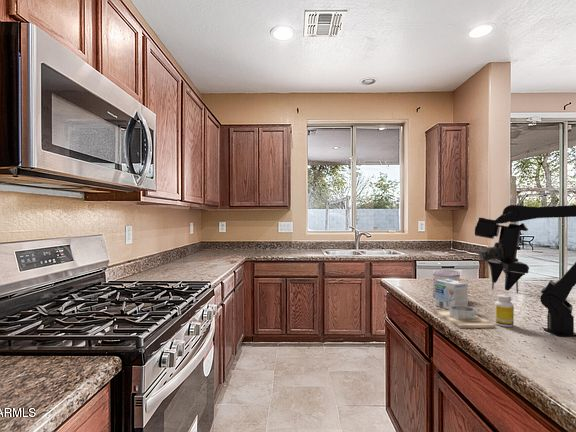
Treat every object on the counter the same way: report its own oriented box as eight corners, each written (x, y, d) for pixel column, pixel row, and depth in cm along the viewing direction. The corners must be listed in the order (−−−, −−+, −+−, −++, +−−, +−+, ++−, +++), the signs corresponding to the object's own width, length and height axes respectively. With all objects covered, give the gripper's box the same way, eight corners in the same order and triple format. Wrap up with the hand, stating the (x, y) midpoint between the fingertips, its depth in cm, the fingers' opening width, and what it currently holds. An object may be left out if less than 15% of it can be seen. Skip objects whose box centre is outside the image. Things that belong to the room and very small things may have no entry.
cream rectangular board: (495, 327, 114) (495, 324, 114) (459, 328, 114) (459, 325, 114) (465, 312, 132) (465, 309, 132) (434, 312, 132) (434, 310, 132)
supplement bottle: (516, 327, 114) (516, 298, 114) (498, 326, 115) (498, 297, 115) (509, 322, 119) (509, 294, 119) (492, 321, 120) (492, 293, 120)
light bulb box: (434, 305, 143) (434, 279, 143) (447, 304, 145) (447, 278, 145) (455, 312, 133) (454, 284, 133) (468, 310, 135) (468, 282, 135)
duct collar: (480, 320, 119) (480, 311, 119) (457, 320, 118) (457, 311, 118) (467, 313, 127) (467, 305, 127) (445, 313, 127) (445, 305, 127)
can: (466, 300, 152) (466, 272, 152) (447, 302, 148) (446, 274, 148) (446, 294, 162) (445, 269, 162) (427, 296, 158) (427, 270, 158)
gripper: (472, 234, 128) (465, 275, 129) (496, 243, 109) (487, 290, 111) (504, 238, 126) (496, 280, 128) (534, 248, 108) (524, 296, 109)
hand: (500, 286), depth 119 cm, fingers open, 9 cm apart
